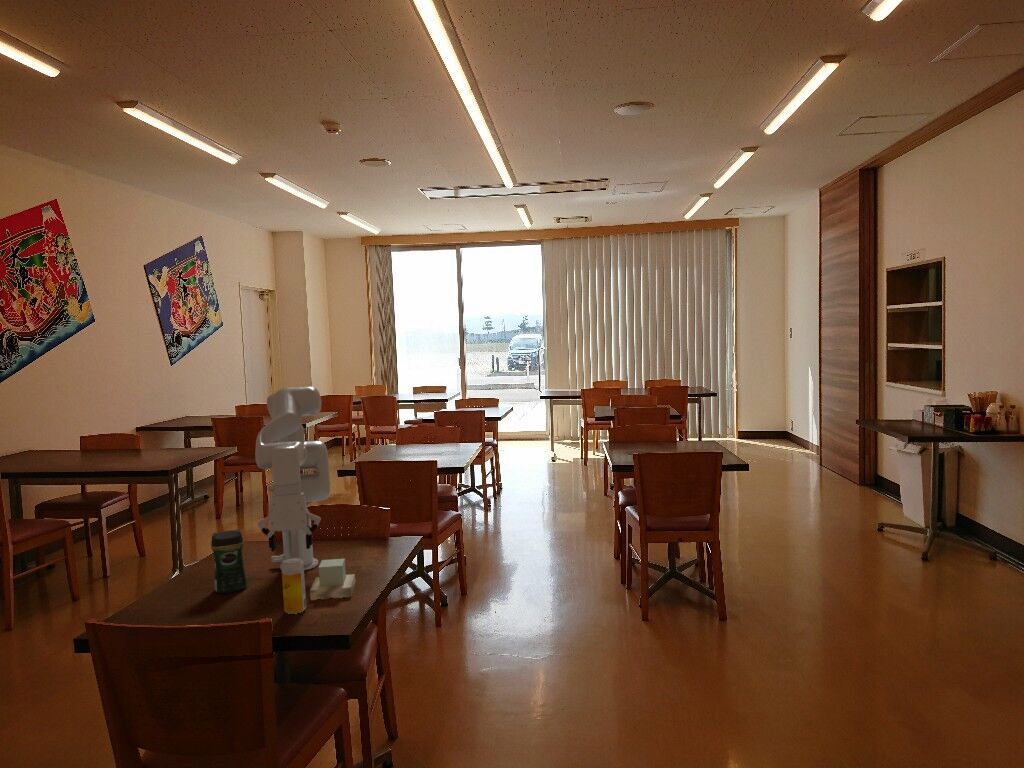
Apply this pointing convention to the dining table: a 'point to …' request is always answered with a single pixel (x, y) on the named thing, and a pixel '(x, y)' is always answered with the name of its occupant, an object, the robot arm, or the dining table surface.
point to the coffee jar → (228, 561)
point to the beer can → (293, 585)
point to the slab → (333, 589)
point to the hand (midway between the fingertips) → (291, 549)
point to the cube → (332, 572)
